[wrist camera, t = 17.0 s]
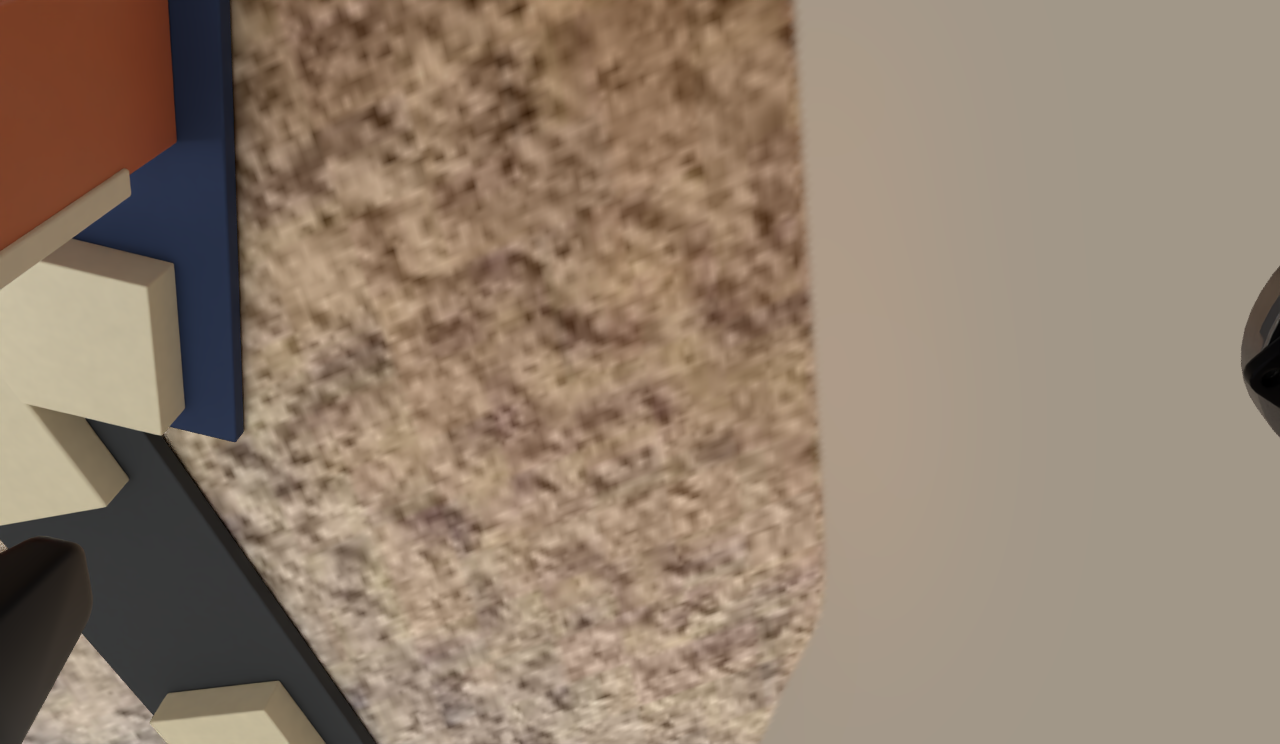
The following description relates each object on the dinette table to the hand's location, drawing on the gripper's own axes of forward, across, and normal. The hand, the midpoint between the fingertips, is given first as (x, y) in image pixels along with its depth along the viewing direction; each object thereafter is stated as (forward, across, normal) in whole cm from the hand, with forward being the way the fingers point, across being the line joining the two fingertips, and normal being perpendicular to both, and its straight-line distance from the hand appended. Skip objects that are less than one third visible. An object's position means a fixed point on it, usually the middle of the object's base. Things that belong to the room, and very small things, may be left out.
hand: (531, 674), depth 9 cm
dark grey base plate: (+13, +12, +17) cm, 25 cm away
